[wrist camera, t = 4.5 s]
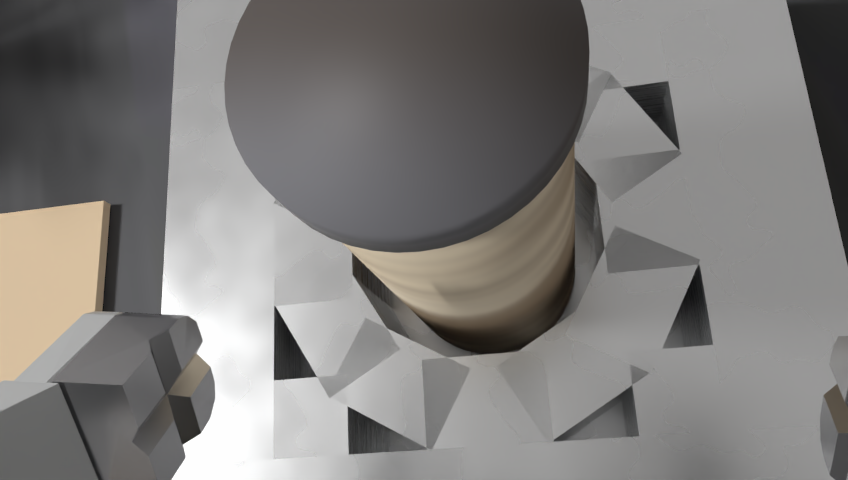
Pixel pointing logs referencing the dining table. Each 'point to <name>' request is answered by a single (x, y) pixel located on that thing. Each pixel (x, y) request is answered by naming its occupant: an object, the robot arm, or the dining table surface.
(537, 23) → the beige and grey cylinder
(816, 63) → the dining table surface
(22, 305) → the cork mat
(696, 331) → the bore housing
